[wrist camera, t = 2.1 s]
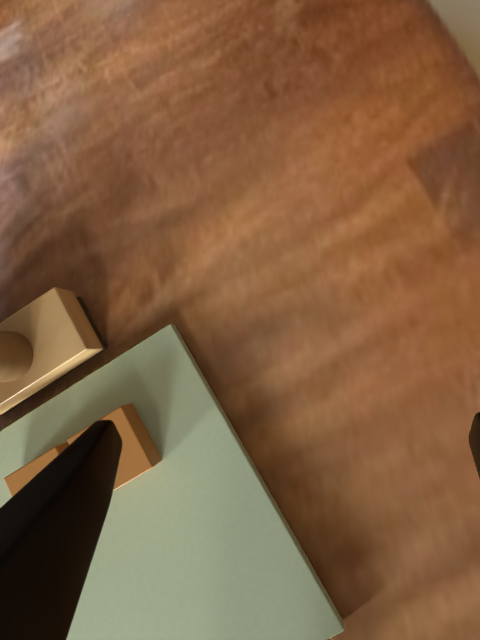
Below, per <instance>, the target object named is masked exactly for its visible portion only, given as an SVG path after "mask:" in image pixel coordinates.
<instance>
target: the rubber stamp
mask: <svg viewBox="0 0 480 640" xmlns="http://www.w3.org/2000/svg"><path fill="white" fill-rule="evenodd" d="M105 349H107V346H106V344H105V342H104V340H103V338H102V336H101V335H100V333H99V331H98V329H97V327H96V325H95V323H94V321H93V320H92V318H91V316H90V314H89V312H88V310H87V308H86V307H85V305H84V303H83V301H82V299H81V298H80V297H77V296H75V294H74V292H73V291H69V290H65V289H61V288H57V287H53V288H52V289H50V290H49V291H47V292H46V293H44V294H43V295H41V296H40V297H38V298H37V299H35V300H34V301H32V302H31V303H29V304H28V305H26V306H25V307H23V308H22V309H20V310H19V311H17V312H16V313H14V314H13V315H11V316H10V317H8V318H7V319H5V320H4V321H2V322H1V323H0V415H1V414H3V413H6V412H8V411H9V410H11V409H13V408H14V407H16V406H17V405H19V404H20V403H22V402H24V401H25V400H27V399H28V398H30V397H31V396H33V395H35V394H36V393H38V392H39V391H41V390H42V389H44V388H46V387H47V386H49V385H50V384H52V383H53V382H55V381H57V380H58V379H60V378H61V377H63V376H64V375H66V374H68V373H69V372H71V371H72V370H74V369H75V368H77V367H79V366H80V365H82V364H83V363H85V362H86V361H88V360H90V359H91V358H93V357H94V356H96V355H97V354H99V353H101V352H102V351H104V350H105Z"/></svg>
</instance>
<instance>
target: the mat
mask: <svg viewBox="0 0 480 640" xmlns="http://www.w3.org/2000/svg"><path fill="white" fill-rule="evenodd" d="M129 403H133V405H134V407H135V409H136V411H137V413H138V414H139V416H140V418H141V420H142V422H143V424H144V426H145V428H146V429H147V431H148V433H149V435H150V437H151V439H152V441H153V443H154V444H155V446H156V448H157V450H158V452H159V454H160V456H161V458H162V461H161V462H159V463H158V464H157V465H156V466H154V467H153V468H152V469H150V470H148V471H146V472H145V473H143V474H141V475H140V476H138V477H136V478H135V479H133V480H131V481H130V482H128V483H126V484H124V485H123V486H121V487H119V488H118V489H116V490H114V491H113V494H112V498H111V502H110V506H109V509H108V513H107V516H106V519H105V522H104V525H103V528H102V531H101V534H100V537H99V540H98V543H97V547H96V550H95V553H94V556H93V559H92V562H91V565H90V568H89V571H88V574H87V578H86V581H85V584H84V587H83V590H82V593H81V596H80V599H79V602H78V605H77V608H76V612H75V615H74V618H73V621H72V624H71V627H70V630H69V633H68V636H67V639H66V640H327V639H329V638H331V637H333V636H335V635H337V634H339V633H341V632H343V631H344V630H345V629H344V622H343V619H342V618H341V616H340V614H339V612H338V611H337V609H336V607H335V605H334V604H333V602H332V600H331V598H330V596H329V595H328V593H327V591H326V589H325V588H324V586H323V584H322V582H321V581H320V579H319V577H318V575H317V574H316V572H315V570H314V568H313V567H312V565H311V563H310V561H309V560H308V558H307V556H306V554H305V553H304V551H303V549H302V547H301V546H300V544H299V542H298V540H297V539H296V537H295V535H294V533H293V532H292V530H291V528H290V526H289V525H288V523H287V521H286V519H285V518H284V516H283V514H282V512H281V510H280V509H279V507H278V505H277V503H276V502H275V500H274V498H273V496H272V495H271V493H270V491H269V489H268V488H267V486H266V484H265V482H264V481H263V479H262V477H261V475H260V474H259V472H258V470H257V468H256V467H255V465H254V463H253V461H252V460H251V458H250V456H249V454H248V453H247V451H246V449H245V447H244V446H243V444H242V442H241V440H240V439H239V437H238V435H237V433H236V432H235V430H234V428H233V426H232V424H231V423H230V421H229V419H228V417H227V416H226V414H225V412H224V410H223V409H222V407H221V405H220V403H219V402H218V400H217V398H216V396H215V395H214V393H213V391H212V389H211V388H210V386H209V384H208V382H207V381H206V379H205V377H204V375H203V374H202V372H201V370H200V368H199V367H198V365H197V363H196V361H195V360H194V358H193V356H192V354H191V353H190V351H189V349H188V347H187V346H186V344H185V342H184V340H183V338H182V337H181V335H180V333H179V331H178V330H177V328H176V326H175V325H174V324H168V325H167V326H165V327H164V328H162V329H160V330H159V331H157V332H156V333H154V334H153V335H151V336H149V337H148V338H146V339H145V340H143V341H141V342H140V343H138V344H137V345H135V346H134V347H132V348H130V349H129V350H127V351H126V352H124V353H122V354H121V355H119V356H118V357H116V358H115V359H113V360H111V361H110V362H108V363H107V364H105V365H103V366H102V367H100V368H99V369H97V370H96V371H94V372H92V373H91V374H89V375H88V376H86V377H84V378H83V379H81V380H80V381H78V382H76V383H75V384H73V385H72V386H70V387H69V388H67V389H65V390H64V391H62V392H61V393H59V394H57V395H56V396H54V397H53V398H51V399H50V400H48V401H46V402H45V403H43V404H42V405H40V406H38V407H37V408H35V409H34V410H32V411H31V412H29V413H27V414H26V415H24V416H23V417H21V418H19V419H18V420H16V421H15V422H13V423H12V424H10V425H8V426H7V427H5V428H4V429H2V430H0V508H1V507H2V506H3V505H4V504H5V503H6V502H7V501H8V500H9V499H10V498H12V496H11V493H10V491H9V489H8V487H7V485H6V483H5V481H4V478H5V477H6V476H8V475H10V474H11V473H13V472H14V471H16V470H18V469H19V468H21V467H23V466H24V465H26V464H27V463H29V462H31V461H32V460H34V459H36V458H37V457H39V456H40V455H42V454H44V453H45V452H47V451H49V450H50V449H52V448H53V447H55V446H58V445H60V444H63V443H65V442H68V441H67V439H68V438H70V437H71V436H73V435H75V434H76V433H78V432H79V431H81V430H83V429H84V428H86V427H88V426H89V425H91V424H92V423H94V422H95V421H97V420H99V419H101V418H102V417H104V416H105V415H107V414H109V413H110V412H112V411H114V410H115V409H117V408H118V407H120V406H123V405H126V404H129Z"/></svg>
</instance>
